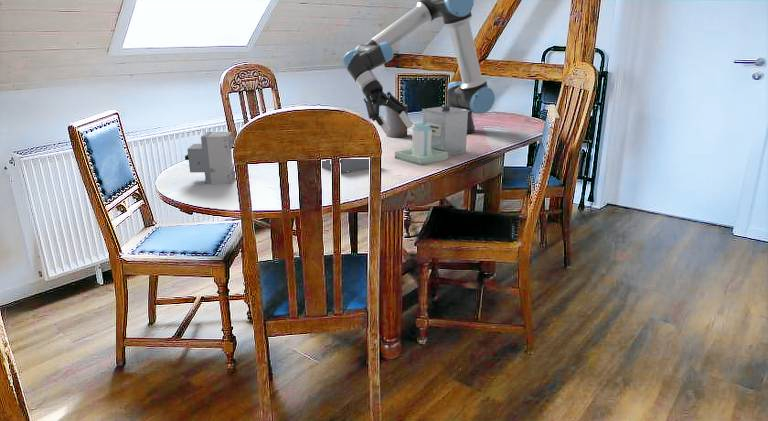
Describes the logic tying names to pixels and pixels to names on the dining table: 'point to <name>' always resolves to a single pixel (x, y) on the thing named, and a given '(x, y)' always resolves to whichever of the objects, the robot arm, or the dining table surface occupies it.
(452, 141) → the box
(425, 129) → the can
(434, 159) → the tray
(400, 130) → the pillar candle
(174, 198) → the dining table surface
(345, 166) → the wheel bin
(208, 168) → the circuit breaker
